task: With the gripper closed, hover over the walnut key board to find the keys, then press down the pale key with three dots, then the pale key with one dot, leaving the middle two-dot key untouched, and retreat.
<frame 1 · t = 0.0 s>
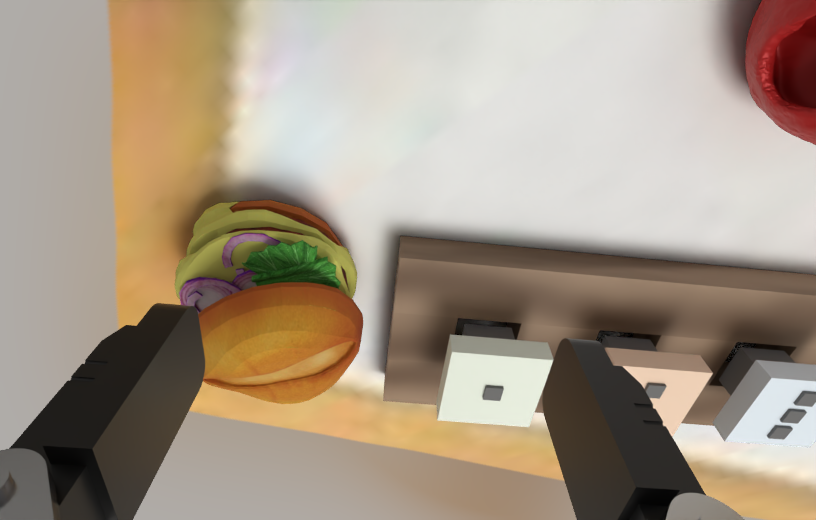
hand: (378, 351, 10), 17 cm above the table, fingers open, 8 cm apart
key two: (632, 378, 29), point 4 cm above the table, slide at 0.0 cm
key three: (771, 390, 29), point 4 cm above the table, slide at 0.0 cm
cheeseburger: (287, 263, 30), on the table
key board: (606, 330, 33), on the table
key one: (488, 367, 28), point 4 cm above the table, slide at 0.0 cm
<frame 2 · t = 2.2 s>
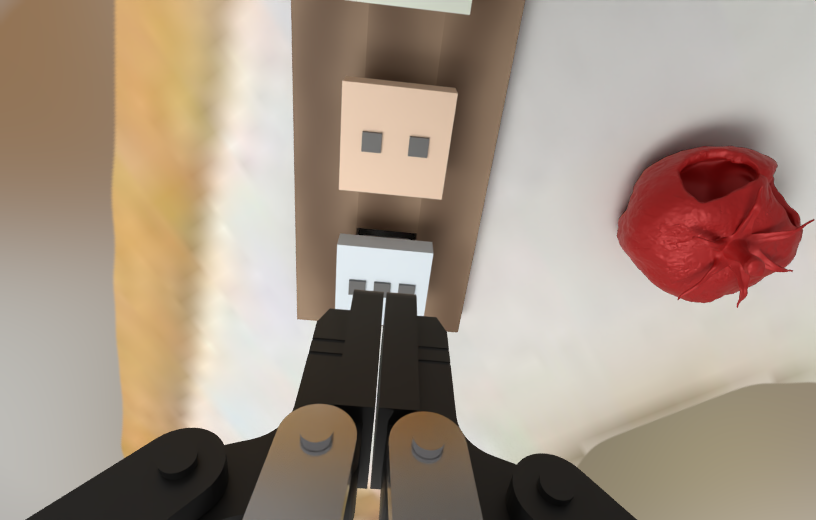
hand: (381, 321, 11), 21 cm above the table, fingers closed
key two: (396, 133, 26), point 4 cm above the table, slide at 0.0 cm
pomegranate: (676, 201, 33), on the table
key three: (383, 272, 30), point 4 cm above the table, slide at 0.0 cm
key board: (397, 114, 30), on the table
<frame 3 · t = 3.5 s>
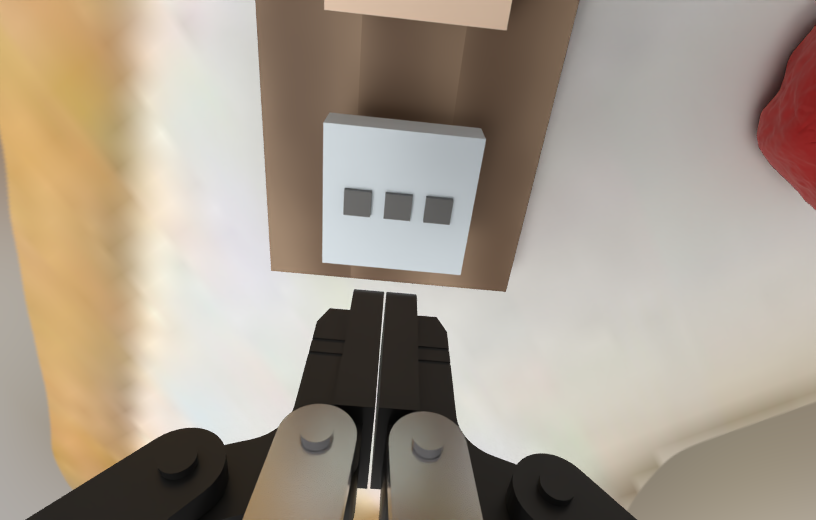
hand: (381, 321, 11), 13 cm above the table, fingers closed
key three: (399, 186, 19), point 4 cm above the table, slide at 0.0 cm
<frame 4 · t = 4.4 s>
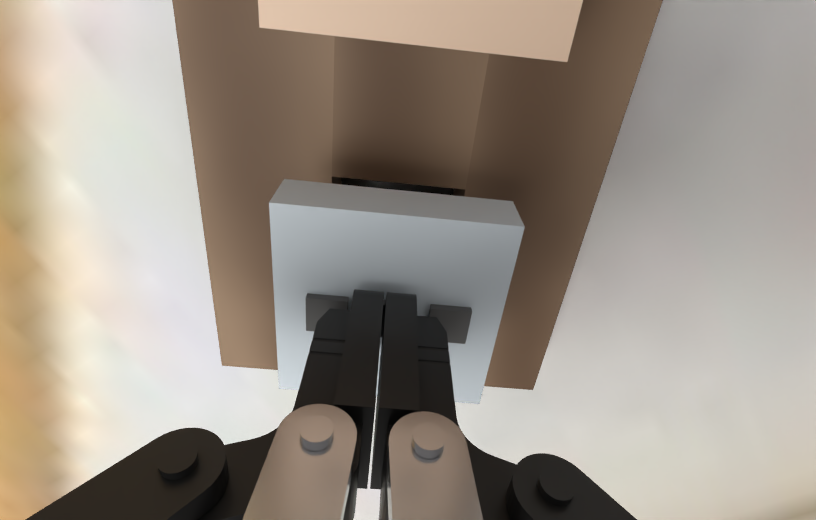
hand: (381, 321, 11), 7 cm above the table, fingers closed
key three: (391, 275, 13), point 4 cm above the table, slide at 0.0 cm, touching gripper
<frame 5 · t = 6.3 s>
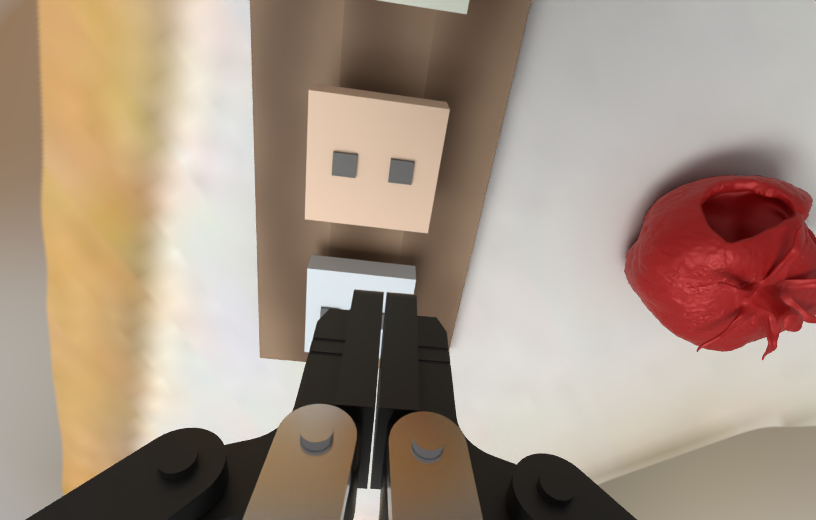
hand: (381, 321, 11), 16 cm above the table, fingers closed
key two: (374, 153, 22), point 4 cm above the table, slide at 0.0 cm
pomegranate: (689, 232, 29), on the table
key three: (360, 297, 27), point 3 cm above the table, slide at 1.3 cm
key board: (378, 128, 25), on the table
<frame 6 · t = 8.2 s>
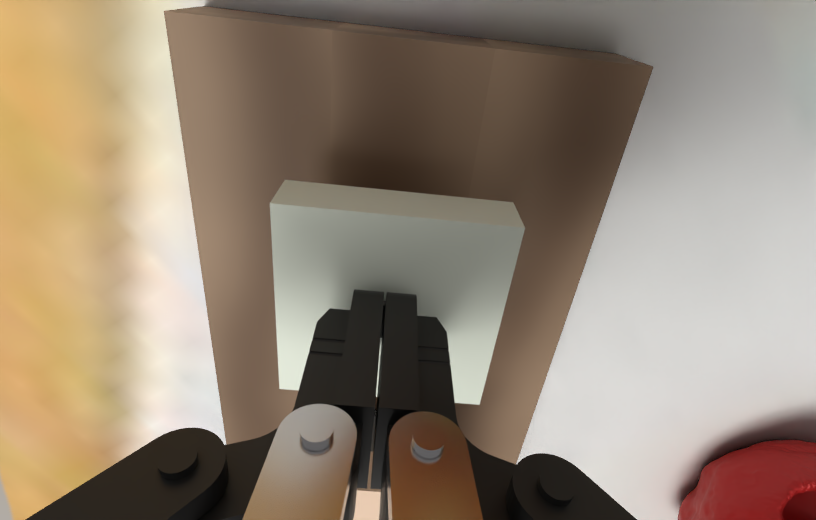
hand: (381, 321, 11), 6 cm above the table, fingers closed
key two: (370, 489, 17), point 4 cm above the table, slide at 0.0 cm
pomegranate: (756, 477, 24), on the table
key board: (378, 396, 21), on the table
key one: (391, 276, 13), point 4 cm above the table, slide at 0.6 cm, touching gripper
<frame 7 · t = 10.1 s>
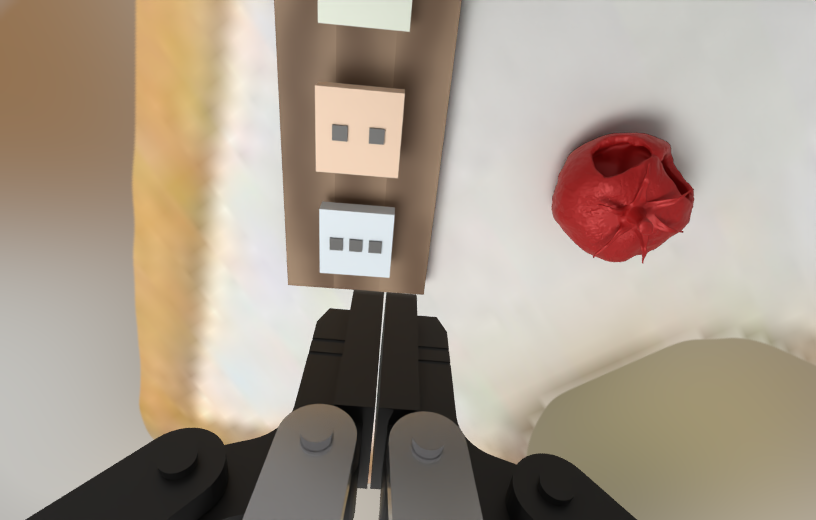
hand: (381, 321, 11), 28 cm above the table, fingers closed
key two: (360, 126, 32), point 5 cm above the table, slide at 0.0 cm
pomegranate: (602, 180, 39), on the table
key three: (357, 233, 38), point 3 cm above the table, slide at 1.3 cm
key board: (365, 111, 36), on the table
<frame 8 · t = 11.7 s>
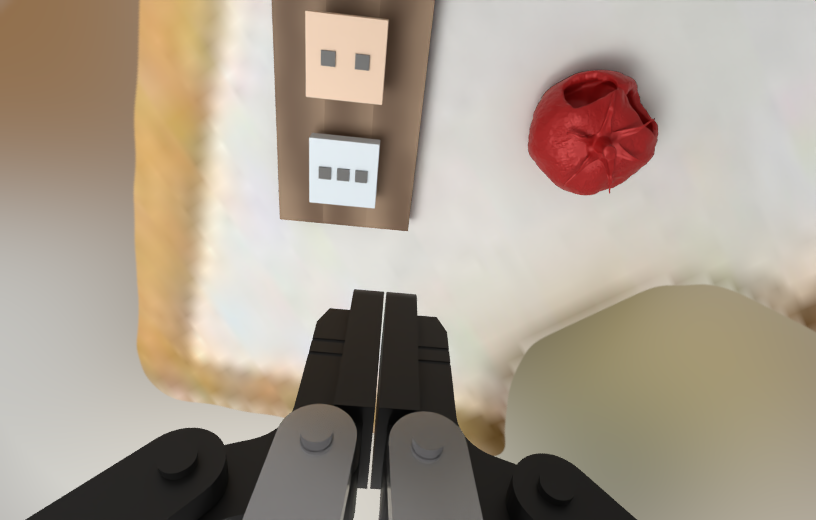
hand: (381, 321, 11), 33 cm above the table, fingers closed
key two: (348, 56, 35), point 4 cm above the table, slide at 0.0 cm
pomegranate: (576, 122, 42), on the table
key three: (345, 166, 40), point 3 cm above the table, slide at 1.3 cm
key board: (354, 49, 39), on the table
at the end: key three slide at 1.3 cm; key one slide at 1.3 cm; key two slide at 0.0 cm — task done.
